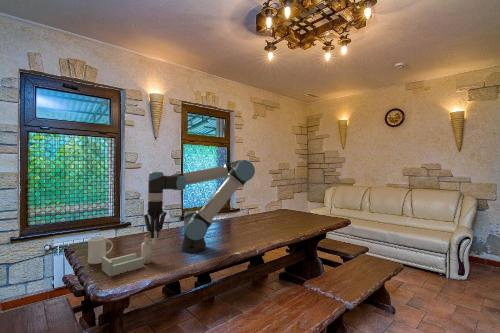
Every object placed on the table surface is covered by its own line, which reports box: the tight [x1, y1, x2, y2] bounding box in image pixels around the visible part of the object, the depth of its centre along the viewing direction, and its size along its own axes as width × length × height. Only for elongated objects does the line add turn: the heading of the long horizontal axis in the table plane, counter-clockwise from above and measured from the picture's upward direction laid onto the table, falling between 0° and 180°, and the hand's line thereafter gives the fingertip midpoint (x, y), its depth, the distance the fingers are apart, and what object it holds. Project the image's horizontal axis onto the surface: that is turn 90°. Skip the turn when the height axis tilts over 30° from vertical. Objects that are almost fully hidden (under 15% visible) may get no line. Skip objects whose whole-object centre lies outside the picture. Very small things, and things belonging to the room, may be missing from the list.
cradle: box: [101, 252, 145, 278], centre depth 131 cm, size 16×10×6 cm, turn 138°
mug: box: [87, 236, 114, 265], centre depth 140 cm, size 12×8×12 cm
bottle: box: [140, 233, 153, 265], centre depth 140 cm, size 5×5×14 cm
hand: (154, 243), depth 143 cm, fingers closed
